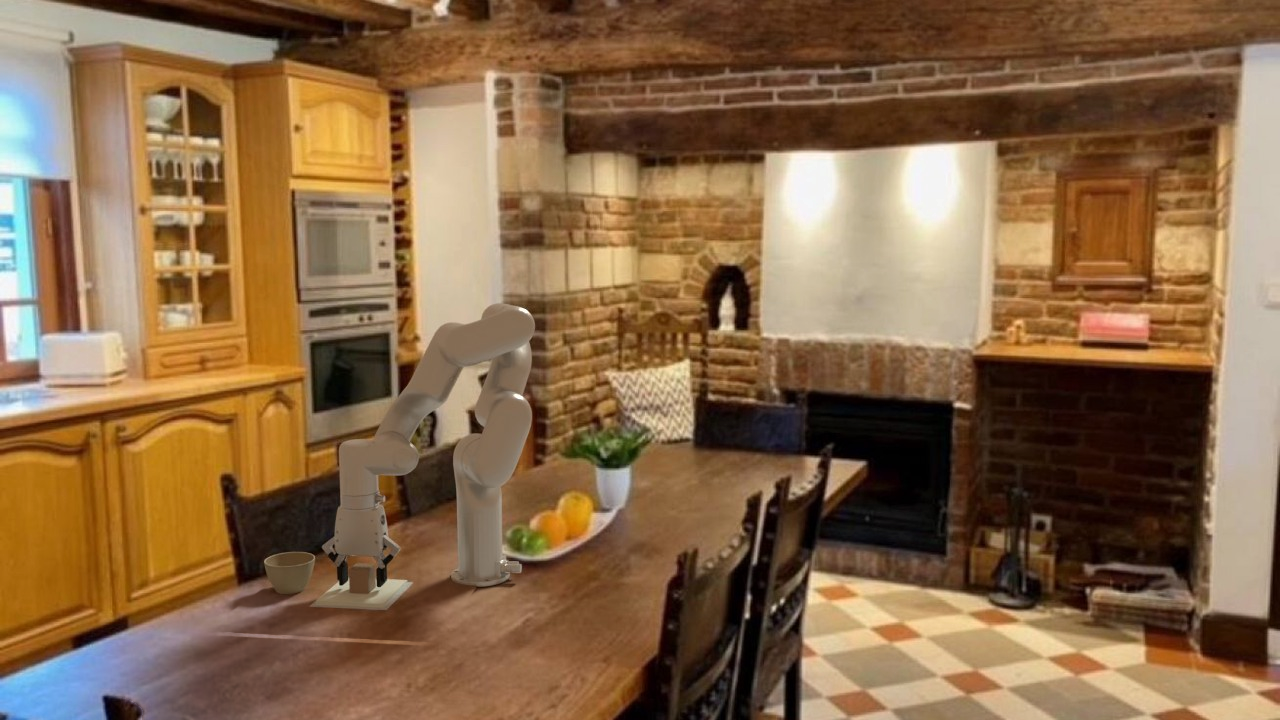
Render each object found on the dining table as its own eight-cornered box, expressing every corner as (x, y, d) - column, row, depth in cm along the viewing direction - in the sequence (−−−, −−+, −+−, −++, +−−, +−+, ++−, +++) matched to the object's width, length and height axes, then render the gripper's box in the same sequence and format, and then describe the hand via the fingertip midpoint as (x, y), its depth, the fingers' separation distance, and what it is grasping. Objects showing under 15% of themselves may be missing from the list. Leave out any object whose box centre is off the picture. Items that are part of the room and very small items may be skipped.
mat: (413, 584, 216) (413, 582, 216) (386, 612, 200) (386, 609, 200) (341, 581, 217) (341, 579, 217) (309, 609, 202) (308, 606, 202)
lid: (407, 583, 215) (406, 557, 214) (383, 607, 201) (382, 579, 200) (343, 580, 216) (342, 554, 215) (315, 604, 202) (314, 576, 202)
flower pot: (300, 602, 206) (298, 568, 205) (255, 598, 208) (254, 564, 207) (325, 585, 215) (323, 553, 214) (282, 582, 217) (280, 549, 216)
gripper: (407, 497, 209) (409, 579, 211) (326, 494, 211) (329, 576, 213) (394, 506, 201) (397, 592, 204) (310, 503, 203) (314, 588, 206)
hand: (362, 583), depth 208 cm, fingers open, 7 cm apart
